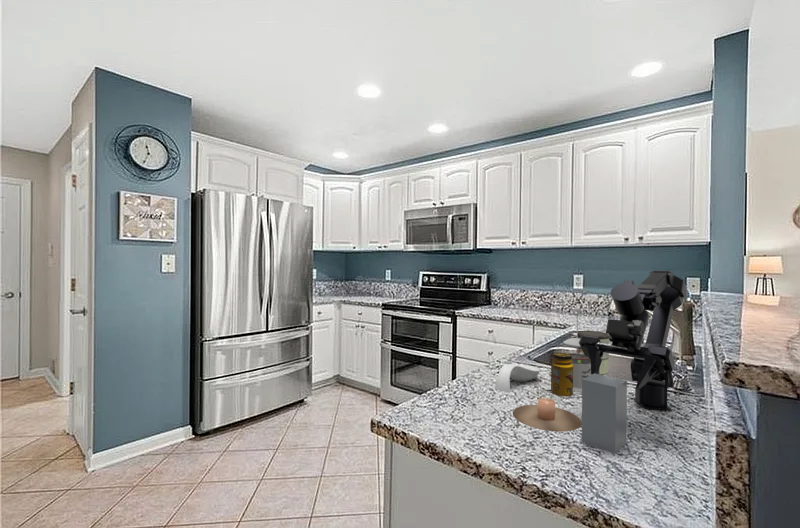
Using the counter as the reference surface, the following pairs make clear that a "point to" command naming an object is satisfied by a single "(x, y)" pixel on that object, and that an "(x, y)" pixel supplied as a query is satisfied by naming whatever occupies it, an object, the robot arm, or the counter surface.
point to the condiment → (561, 374)
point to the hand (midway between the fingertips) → (614, 382)
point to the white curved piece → (514, 375)
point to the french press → (578, 369)
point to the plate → (559, 424)
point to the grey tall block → (604, 412)
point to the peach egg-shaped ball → (546, 409)
